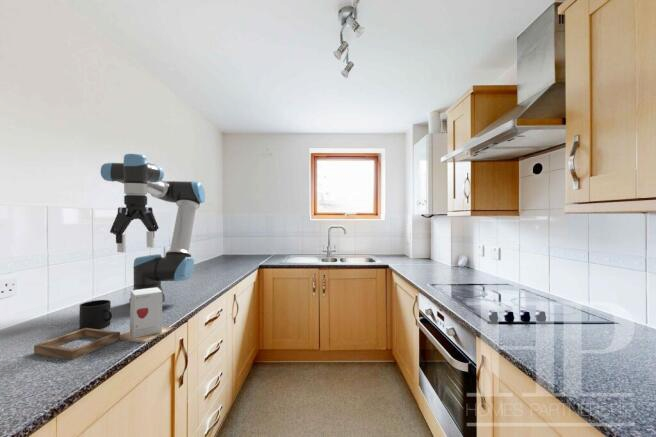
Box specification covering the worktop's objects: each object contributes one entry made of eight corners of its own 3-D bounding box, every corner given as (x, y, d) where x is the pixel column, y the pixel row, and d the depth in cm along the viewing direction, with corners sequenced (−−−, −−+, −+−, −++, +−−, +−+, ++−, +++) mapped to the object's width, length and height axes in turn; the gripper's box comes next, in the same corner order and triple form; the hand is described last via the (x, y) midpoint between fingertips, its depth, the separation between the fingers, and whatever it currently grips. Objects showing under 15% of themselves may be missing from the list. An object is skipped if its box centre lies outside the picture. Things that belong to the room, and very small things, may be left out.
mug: (100, 332, 110) (100, 307, 110) (72, 330, 112) (72, 305, 112) (122, 323, 119) (122, 300, 119) (96, 321, 121) (96, 299, 121)
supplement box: (132, 338, 103) (133, 295, 103) (129, 331, 110) (129, 290, 109) (162, 332, 108) (162, 291, 108) (157, 325, 115) (157, 286, 115)
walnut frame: (85, 334, 107) (85, 327, 107) (120, 339, 104) (120, 332, 104) (34, 353, 92) (34, 345, 92) (72, 359, 89) (72, 351, 89)
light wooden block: (145, 325, 117) (145, 324, 117) (173, 329, 113) (173, 327, 113) (114, 338, 104) (114, 337, 104) (145, 343, 101) (145, 341, 101)
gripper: (152, 196, 129) (153, 245, 130) (97, 193, 105) (98, 254, 105) (167, 196, 128) (168, 245, 128) (115, 193, 103) (116, 254, 104)
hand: (136, 249), depth 117 cm, fingers open, 13 cm apart
